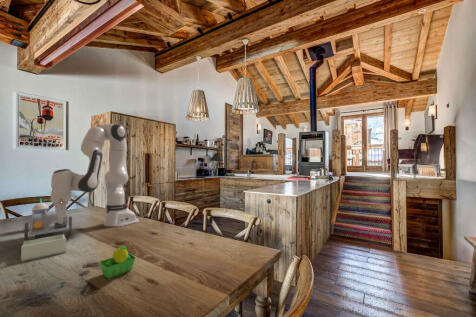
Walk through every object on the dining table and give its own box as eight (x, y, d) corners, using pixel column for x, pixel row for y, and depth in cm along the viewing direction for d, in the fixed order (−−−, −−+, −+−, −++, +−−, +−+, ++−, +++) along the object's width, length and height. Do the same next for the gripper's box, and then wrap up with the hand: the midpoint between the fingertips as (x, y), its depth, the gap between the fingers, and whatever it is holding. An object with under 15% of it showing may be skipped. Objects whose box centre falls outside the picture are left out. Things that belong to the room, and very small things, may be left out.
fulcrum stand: (71, 233, 132) (71, 216, 133) (71, 235, 130) (72, 217, 130) (24, 242, 119) (25, 222, 119) (24, 243, 116) (24, 223, 116)
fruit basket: (127, 264, 94) (128, 238, 94) (137, 270, 88) (137, 243, 88) (98, 274, 85) (98, 246, 85) (106, 282, 79) (107, 252, 80)
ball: (43, 227, 114) (43, 228, 116) (43, 219, 115) (43, 221, 118) (33, 228, 111) (33, 230, 114) (33, 221, 112) (33, 222, 115)
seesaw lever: (65, 211, 140) (65, 206, 140) (68, 229, 120) (69, 223, 119) (31, 215, 129) (31, 209, 129) (29, 236, 109) (29, 229, 108)
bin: (63, 243, 117) (64, 230, 117) (66, 252, 105) (66, 238, 105) (23, 251, 106) (23, 237, 106) (21, 262, 95) (21, 246, 95)
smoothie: (40, 230, 138) (41, 199, 138) (27, 230, 138) (28, 199, 138) (52, 226, 146) (52, 197, 147) (40, 226, 146) (40, 197, 147)
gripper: (70, 200, 114) (69, 226, 114) (66, 195, 129) (66, 218, 129) (54, 201, 110) (53, 228, 110) (53, 196, 125) (52, 220, 125)
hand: (60, 223), depth 119 cm, fingers closed
